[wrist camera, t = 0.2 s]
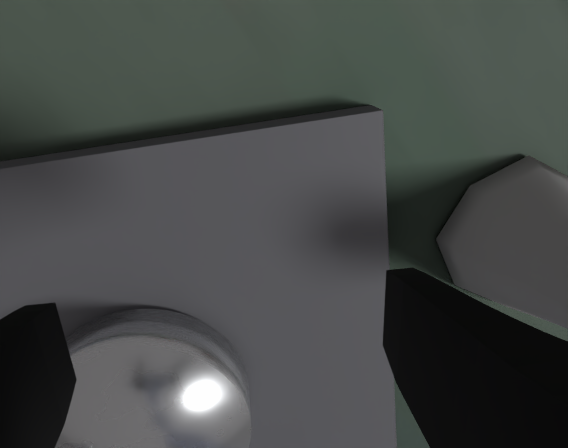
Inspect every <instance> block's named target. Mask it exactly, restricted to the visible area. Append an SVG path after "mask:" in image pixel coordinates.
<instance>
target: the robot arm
mask: <svg viewBox="0 0 568 448" xmlns="http://www.w3.org/2000/svg"><path fill="white" fill-rule="evenodd" d="M383 348H384V350H385V353H386V356H387V359H388V362H389V365H390V367H391V370H392V373H393V375H394V378H395V380H396V383H397V385H398V387H399V389H400V391H401V393H402V395H403V397H404V399H405V401H406V403H407V405H408V407H409V408H410V410H411V412H412V414H413V416H414V418H415V420H416V422H417V424H418V426H419V427H420V429H421V431H422V433H423V435H424V437H425V439H426V441H427V442H428V444H429V446H430V448H568V341H565V340H562V339H560V338H557V337H555V336H553V335H550V334H548V333H545V332H543V331H541V330H538V329H536V328H534V327H532V326H530V325H527V324H525V323H523V322H521V321H519V320H516V319H514V318H512V317H510V316H508V315H506V314H504V313H502V312H500V311H498V310H495V309H493V308H491V307H489V306H487V305H485V304H483V303H482V302H480V301H478V300H476V299H474V298H472V297H470V296H468V295H466V294H464V293H462V292H460V291H458V290H457V289H455V288H453V287H451V286H449V285H447V284H445V283H443V282H441V281H440V280H438V279H436V278H434V277H432V276H430V275H428V274H426V273H424V272H421V271H419V270H417V269H414V268H404V269H394V270H386V285H385V306H384V326H383ZM76 380H77V379H76V375H75V371H74V368H73V364H72V361H71V357H70V353H69V350H68V346H67V343H66V339H65V335H64V332H63V328H62V325H61V321H60V317H59V314H58V310H57V307H56V303H45V304H35V305H25V306H23V307H21V308H19V309H17V310H15V311H14V312H12V313H10V314H8V315H7V316H5V317H3V318H2V319H0V448H55V446H56V444H57V441H58V439H59V437H60V434H61V432H62V429H63V427H64V424H65V421H66V418H67V414H68V411H69V407H70V404H71V400H72V396H73V392H74V388H75V384H76Z"/></svg>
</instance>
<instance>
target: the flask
mask: <svg viewBox="0 0 568 448" xmlns="http://www.w3.org/2000/svg"><path fill="white" fill-rule="evenodd" d="M436 241H437V243H438V246H439V248H440V251H441V253H442V256H443V258H444V261H445V263H446V265H447V268H448V270H449V273H450V275H451V278H452V280H453V283H454V285H455V286H458V287H460V288H463V289H465V290H468V291H470V292H472V293H475V294H477V295H480V296H482V297H484V298H487V299H489V300H492V301H494V302H497V303H499V304H502V305H504V306H507V307H509V308H512V309H515V310H518V311H521V312H524V313H527V314H529V315H532V316H535V317H538V318H541V319H544V320H547V321H549V322H552V323H555V324H557V325H560V326H562V327H565V328H567V329H568V176H566V175H564V174H562V173H561V172H559V171H557V170H555V169H553V168H551V167H549V166H548V165H546V164H544V163H542V162H540V161H538V160H537V159H535V158H533V157H531V156H527V157H525V158H523V159H521V160H519V161H517V162H515V163H513V164H511V165H509V166H507V167H505V168H503V169H501V170H499V171H497V172H495V173H494V174H492V175H490V176H488V177H486V178H484V179H482V180H480V181H478V182H476V183H474V184H472V185H470V186H469V188H468V189H467V191H466V193H465V194H464V196H463V197H462V199H461V200H460V202H459V204H458V205H457V207H456V208H455V210H454V211H453V213H452V215H451V216H450V218H449V219H448V221H447V222H446V224H445V226H444V227H443V229H442V230H441V232H440V234H439V235H438V237H437V238H436Z"/></svg>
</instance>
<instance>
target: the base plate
mask: <svg viewBox="0 0 568 448" xmlns="http://www.w3.org/2000/svg"><path fill="white" fill-rule="evenodd" d="M386 270H389V246H388V221H387V197H386V172H385V148H384V123H383V110H381V109H379V108H377V107H375V106H372V105H368V106H361V107H355V108H348V109H342V110H335V111H329V112H322V113H316V114H309V115H302V116H296V117H289V118H283V119H276V120H270V121H263V122H256V123H250V124H243V125H237V126H230V127H224V128H217V129H210V130H204V131H197V132H191V133H184V134H178V135H171V136H164V137H158V138H151V139H145V140H138V141H132V142H125V143H118V144H112V145H105V146H99V147H92V148H86V149H79V150H73V151H66V152H59V153H53V154H46V155H40V156H33V157H27V158H20V159H13V160H7V161H0V319H2V318H3V317H5V316H7V315H8V314H10V313H12V312H14V311H15V310H17V309H19V308H21V307H23V306H25V305H35V304H45V303H56V307H57V310H58V314H59V317H60V321H61V325H62V328H63V332H64V335H65V339H66V338H67V337H68V336H69V335H70V334H71V333H72V332H74V331H75V330H76V329H78V328H79V327H81V326H82V325H84V324H86V323H88V322H90V321H92V320H94V319H96V318H99V317H102V316H104V315H107V314H110V313H115V312H119V311H124V310H132V309H160V310H168V311H173V312H177V313H181V314H184V315H187V316H190V317H193V318H195V319H198V320H200V321H202V322H204V323H206V324H208V325H209V326H211V327H212V328H214V329H216V330H217V331H218V332H219V333H221V334H222V335H223V336H224V337H225V338H226V339H227V340H228V341H229V342H230V343H231V344H232V345H233V346H234V348H235V349H236V350H237V352H238V353H239V355H240V357H241V359H242V361H243V363H244V365H245V368H246V372H247V376H248V384H249V398H250V414H251V440H250V444H249V448H397V442H396V417H395V393H394V375H393V373H392V370H391V367H390V365H389V362H388V359H387V356H386V353H385V350H384V348H383V326H384V306H385V285H386Z"/></svg>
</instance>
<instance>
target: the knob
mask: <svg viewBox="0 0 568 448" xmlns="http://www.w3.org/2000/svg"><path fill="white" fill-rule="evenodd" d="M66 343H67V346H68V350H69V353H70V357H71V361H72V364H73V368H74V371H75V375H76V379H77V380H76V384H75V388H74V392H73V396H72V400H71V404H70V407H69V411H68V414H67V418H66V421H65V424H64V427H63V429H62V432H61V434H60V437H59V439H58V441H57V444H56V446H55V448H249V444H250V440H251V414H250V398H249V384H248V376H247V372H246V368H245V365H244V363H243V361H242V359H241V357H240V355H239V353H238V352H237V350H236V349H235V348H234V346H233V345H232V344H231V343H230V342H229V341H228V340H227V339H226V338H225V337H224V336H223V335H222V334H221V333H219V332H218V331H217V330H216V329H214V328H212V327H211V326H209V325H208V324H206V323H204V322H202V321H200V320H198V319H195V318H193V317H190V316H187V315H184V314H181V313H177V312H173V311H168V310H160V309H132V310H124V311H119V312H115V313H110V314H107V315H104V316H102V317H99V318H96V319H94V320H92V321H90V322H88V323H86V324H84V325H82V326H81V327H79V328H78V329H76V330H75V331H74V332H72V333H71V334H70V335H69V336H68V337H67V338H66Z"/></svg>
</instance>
